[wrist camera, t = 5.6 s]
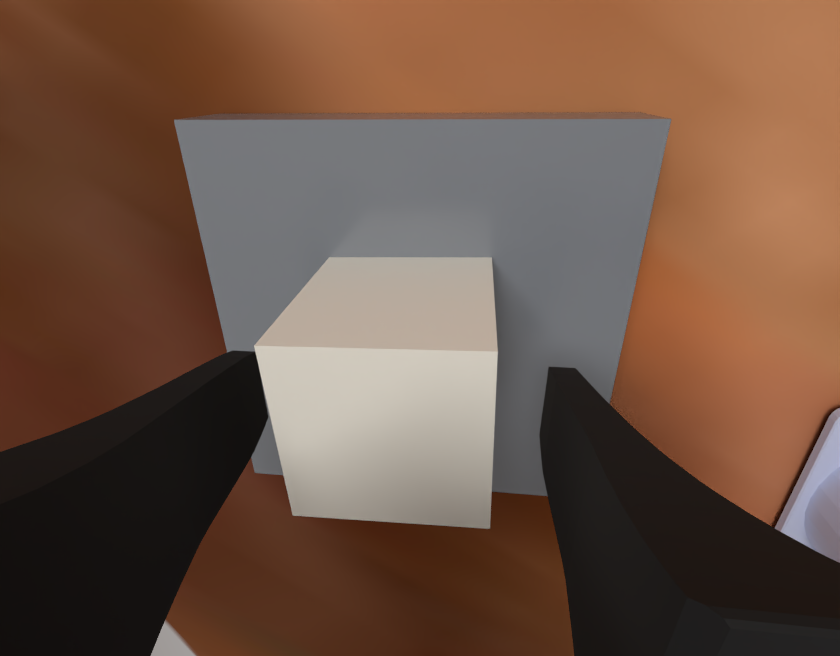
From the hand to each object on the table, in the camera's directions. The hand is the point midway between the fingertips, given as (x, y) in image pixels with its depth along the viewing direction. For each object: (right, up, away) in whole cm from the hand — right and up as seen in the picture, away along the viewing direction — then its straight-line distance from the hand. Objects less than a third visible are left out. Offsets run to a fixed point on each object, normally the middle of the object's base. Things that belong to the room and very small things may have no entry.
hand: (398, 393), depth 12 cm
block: (0, +2, +2) cm, 3 cm away
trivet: (+1, +2, +5) cm, 5 cm away
